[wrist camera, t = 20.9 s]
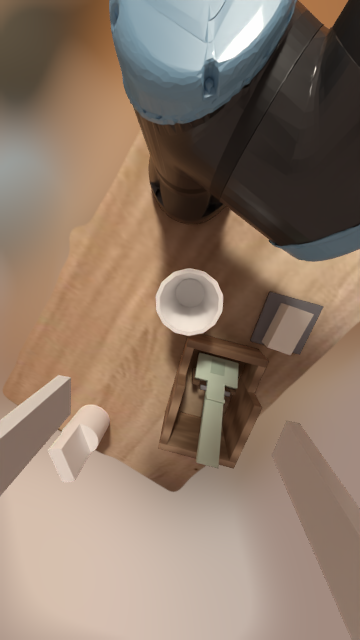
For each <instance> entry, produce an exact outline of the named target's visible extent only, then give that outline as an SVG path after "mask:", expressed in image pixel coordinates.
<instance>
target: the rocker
mask: <svg viewBox="0 0 360 640" xmlns="http://www.w3.org/2000/svg"><path fill="white" fill-rule="evenodd" d="M238 365H239V363H236V362H233V361H229V360H225V359H222V358H218V357H214V356H210V355H207V354H203V353H199V354H198V359H197V365H196V371H195V377H194V378H195V379H199V380H203V381H206V386H204V385H200V389H201V390H205V397H204V405H203V412H202V419H201V427H200V434H199V442H198V449H197V456H196V462H197V463H199V464H203V465H207V466H211V467H215V468H218V466H219V453H220V441H221V428H222V415H223V404H224V403H225V400H224V396H227V397H229V396H230V392H227V391H224V390H225V387H229V388H232V389H237V388H238Z"/></svg>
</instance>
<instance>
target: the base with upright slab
mask: <svg viewBox="0 0 360 640" xmlns="http://www.w3.org/2000/svg"><path fill="white" fill-rule="evenodd" d="M109 423H110V419H109V416H108V414H107V412H106V411H105V410H104V409H102V408H101V407H99V406H96V405H85V406H83V407H81V408H80V409H79V410H78V412H77V413H76V414H75V415H74V416H73V418H72V419H71V420H70V421H69V423H68V424H67V425H66V426H65V427H64V429H63V430H62V433H61V434H60V436H59V437H58V438H57V439H56V441H55V442H54V443H53V444H52V445H51V447H50V448H49V449H48V453H49V455H50V457H51V459H52V461H53V463H54V466H55V468H56V470H57V472H58V474H59V476H60V479H61V481H62V482H73V481H75V480H76V478H77V476H78V475H79V473H80V471H81V469H82V467H83V466H84V464H85V462H86V460H87V459H88V456H89V455H90V453H91V452H93V451H94V450H95V449H96V448H97V446H98V444H99V443H100V441H101V439H102V437H103V435H104V433H105V432H106V430H107V428H108V426H109Z"/></svg>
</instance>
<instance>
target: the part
mask: <svg viewBox="0 0 360 640" xmlns="http://www.w3.org/2000/svg"><path fill="white" fill-rule="evenodd" d="M313 315H314V314H312V313H309V312H306V311H303V310H300V309H298V308H295V307H292V306H289V305H286V304H283V303H281V304H280V306H279V308H278V310H277V312H276V314H275V316H274V318H273V320H272V322H271V324H270V326H269V328H268V330H267V332H266V334H265V336H264V338H263V340H262V343H263V344H264V345H265V346H266V347H267V348H270V349H273V350H276V351H279V352H282V353H285V354H287V355H290V356H291V354H292V352H293V350H294V349H295V347H296V345H297V343H298V342H299V340H300V338H301V336H302V335H303V333H304V331H305V329H306V328H307V326H308V324H309V322H310V321H311V319H312V317H313Z"/></svg>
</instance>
